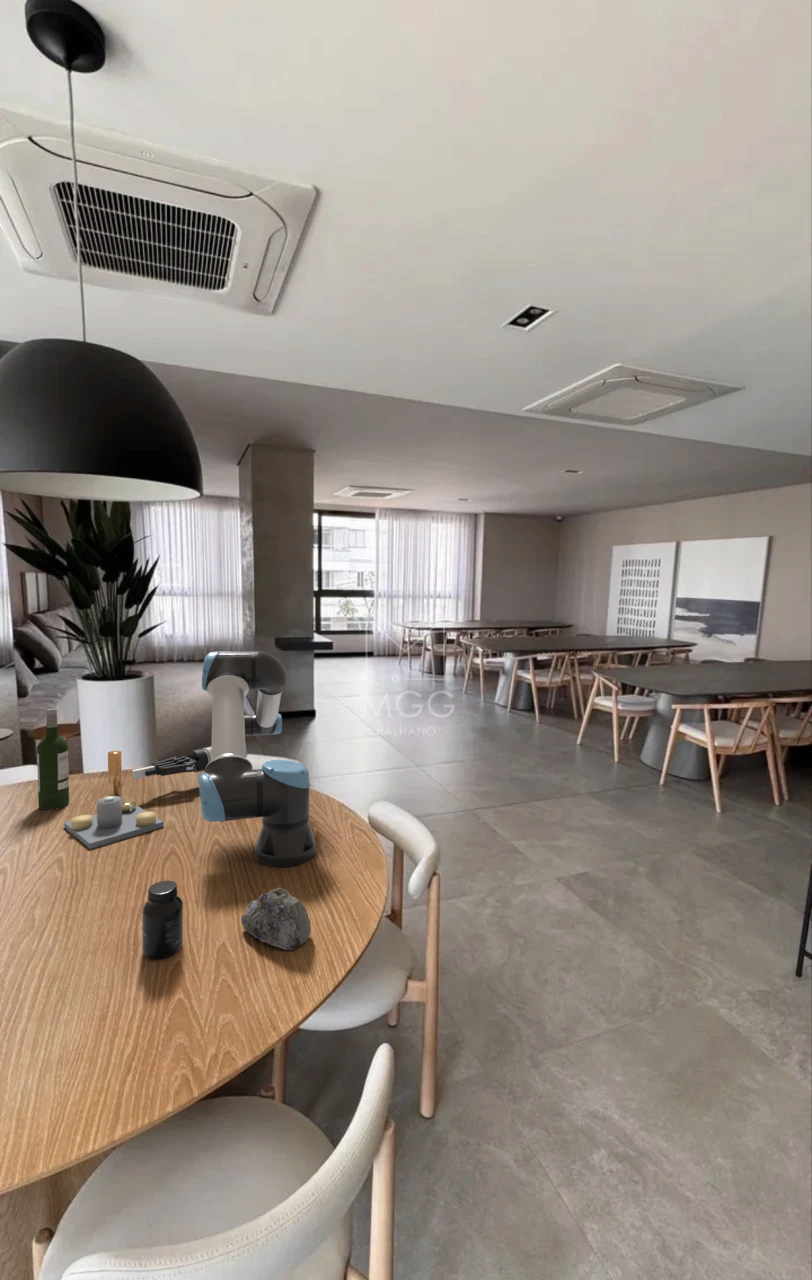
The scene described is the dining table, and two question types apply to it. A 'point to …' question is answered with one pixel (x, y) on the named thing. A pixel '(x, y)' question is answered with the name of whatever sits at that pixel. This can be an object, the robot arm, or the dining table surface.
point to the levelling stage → (114, 833)
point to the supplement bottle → (162, 921)
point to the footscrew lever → (117, 780)
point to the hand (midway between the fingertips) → (133, 774)
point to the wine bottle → (52, 766)
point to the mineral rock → (278, 920)
